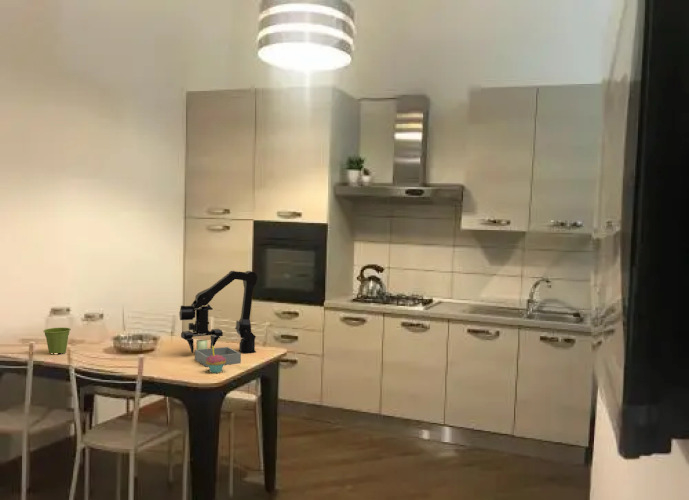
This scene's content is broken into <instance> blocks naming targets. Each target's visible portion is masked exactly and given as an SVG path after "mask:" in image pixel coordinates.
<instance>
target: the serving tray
mask: <svg viewBox="0 0 689 500" xmlns="http://www.w3.org/2000/svg"><path fill="white" fill-rule="evenodd" d="M214 354H215V355H221V356H223V357H225V359H226V363H225V364H224V365H223V366H228V365H236V364H241V363H242V352H240V351H237V350H235V349H233V348H231V347H229V346H222V347H214ZM211 355H213V351H212V348H211V349H210V348H207V349H201V350H197V349H195V350H194V360H195V361H196V362H197V363H199V364H201V365H202V366H203V367H206V368H209V366H208V365H207V364H206V359H207V358H208V357H209V356H211Z"/></svg>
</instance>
